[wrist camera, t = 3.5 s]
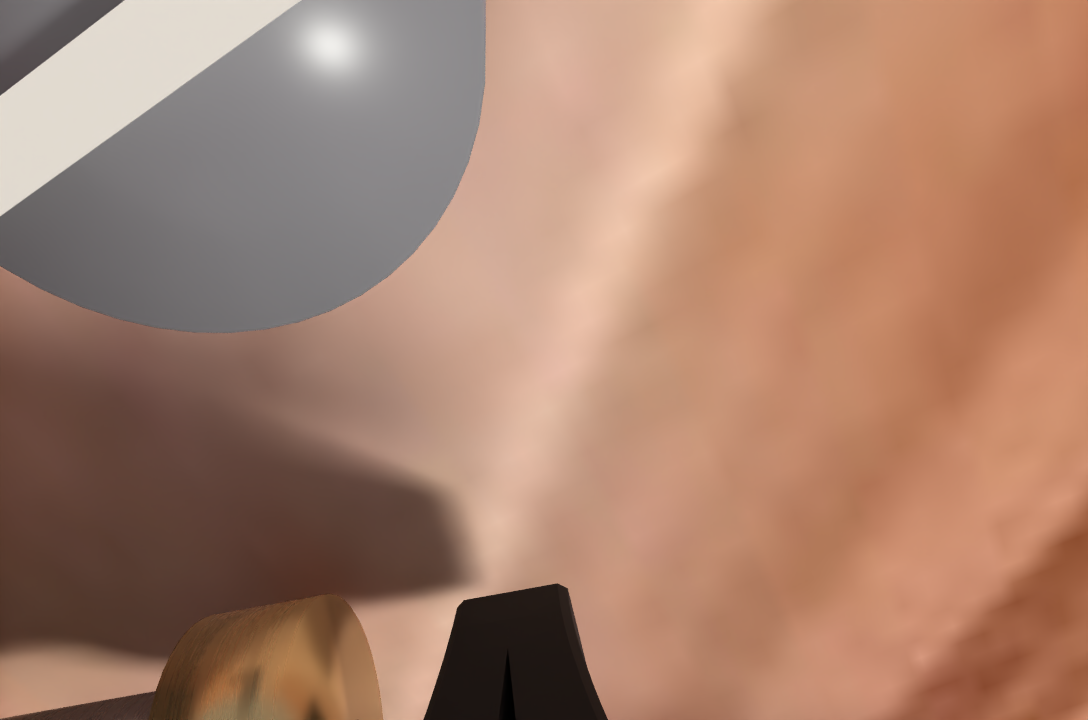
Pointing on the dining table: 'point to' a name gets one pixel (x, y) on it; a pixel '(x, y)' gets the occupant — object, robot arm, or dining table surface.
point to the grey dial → (230, 150)
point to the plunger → (257, 670)
